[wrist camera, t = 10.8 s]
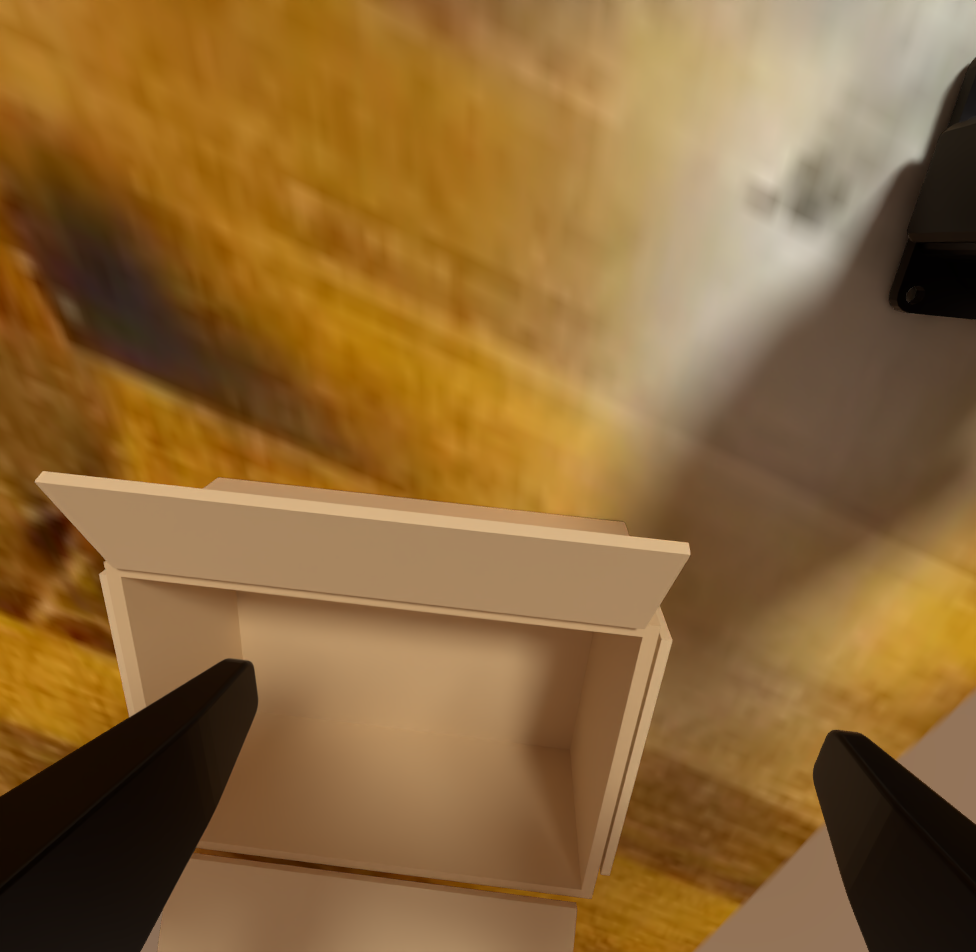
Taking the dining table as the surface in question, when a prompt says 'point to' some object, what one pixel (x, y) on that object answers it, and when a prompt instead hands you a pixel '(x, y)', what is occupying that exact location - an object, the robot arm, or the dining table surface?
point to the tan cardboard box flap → (371, 551)
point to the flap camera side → (349, 913)
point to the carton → (408, 717)
